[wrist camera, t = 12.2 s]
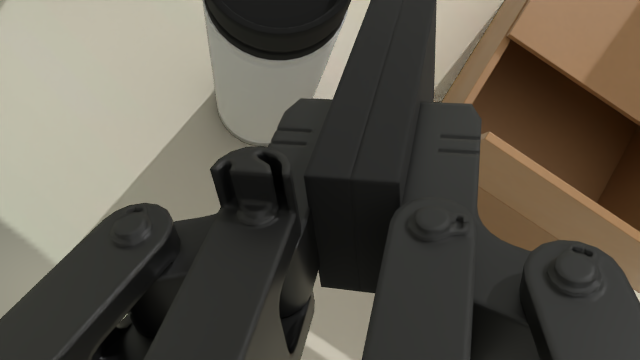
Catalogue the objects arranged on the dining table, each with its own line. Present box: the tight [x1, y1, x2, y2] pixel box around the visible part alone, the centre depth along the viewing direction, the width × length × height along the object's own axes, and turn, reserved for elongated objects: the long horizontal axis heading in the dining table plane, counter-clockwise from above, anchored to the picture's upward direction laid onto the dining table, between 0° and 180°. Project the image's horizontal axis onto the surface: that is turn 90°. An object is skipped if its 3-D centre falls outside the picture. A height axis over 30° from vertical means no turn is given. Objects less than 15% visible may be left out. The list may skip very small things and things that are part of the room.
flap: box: [478, 132, 640, 293], centre depth 29 cm, size 8×14×1 cm
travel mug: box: [203, 0, 351, 146], centre depth 31 cm, size 6×7×20 cm
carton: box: [442, 0, 640, 251], centre depth 39 cm, size 17×14×9 cm
